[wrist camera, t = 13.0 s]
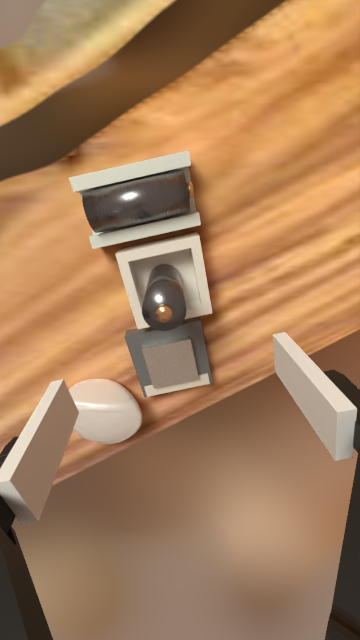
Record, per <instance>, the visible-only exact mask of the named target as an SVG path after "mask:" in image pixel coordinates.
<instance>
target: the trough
mask: <svg viewBox="0 0 360 640" xmlns="http://www.w3.org/2000/svg"><path fill="white" fill-rule="evenodd" d="M190 166H191V161H190V155H189V150H188V151H183V152H179V153H175V154H170V155H166V156H162V157H157V158H153V159H149V160H144V161H140V162H135V163H131V164H127V165H122V166H118V167H114V168H109V169H105V170H101V171H96V172H92V173H87V174H83V175H79V176H74V177H70V178H69V180H70V183H71V186H72V189H73V192H80V195H81V198H82V193H83V192H86V191H90V190H95V189H99V188H104V187H108V186H112V185H117V184H121V183H125V182H130V181H134V180H139V179H143V178H147V177H152V176H156V175H161V174H165V173H169V172H174V171H178V170H183V172H184V175H185V179H186V183H190V182H191V176H190V171H189V167H190ZM189 201H190V212H189V213H185V214H180V215H176V216H171V217H167V218H162V219H158V220H153V221H149V222H144V223H140V224H135V225H131V226H126V227H122V228H118V229H113V230H109V231H104V232H100V233H95V232H94V231H93V230H92V232H93V235H91V236H90V237H89V240H90V243H91V246H92V249H95V248H100V247H104V246H109V245H113V244H118V243H122V242H127V241H131V240H136V239H140V238H145V237H149V236H154V235H158V234H163V233H167V232H172V231H176V230H181V229H185V228H190V227H194V226H199V225H201V222H200V216H199V212H197V211H196V206H195V200H194V198H191V199H189ZM91 229H92V228H91Z"/></svg>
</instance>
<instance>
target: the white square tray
mask: <svg viewBox="0 0 360 640" xmlns="http://www.w3.org/2000/svg"><path fill="white" fill-rule="evenodd" d="M115 255H116V258H117V262H118V265H119V268H120V272H121V275H122V278H123V282H124V285H125V288H126V292H127V295H128V298H129V302H130V305H131V308H132V311H133V315H134V318H135V321H136V325H137V328H138V329H142V328H147V327H150V326H149V325H148V324H147V323H146V322H145V320H144V318H143V315H142V306H143V301H144V297H145V292H146V288H147V283H148V279H149V275H150V272H151V271H152V269H153V268H155V267H156V266H158V265H160V264H169V265H172V266H174V267H175V268H176V269H177V270H178V271H179V273H180V275H181V280H182V286H183V292H184V298H185V304H186V317H185V319H188V318H193V317H198V316H202V315H207V314H212V307H211V302H210V296H209V290H208V284H207V278H206V272H205V266H204V260H203V254H202V248H201V242H200V236H199V235H198V234H197V233H196V232H194V233H190V234H185V235H181V236H176V237H172V238H167V239H163V240H158V241H154V242H149V243H145V244H140V245H136V246H131V247H127V248H122V249H119V250H118V251H117V252H116V254H115Z"/></svg>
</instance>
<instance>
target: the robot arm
mask: <svg viewBox="0 0 360 640" xmlns="http://www.w3.org/2000/svg"><path fill="white" fill-rule="evenodd" d="M273 347H274V361H275V372H276V373H277V375H278V376H279V378H280V379H281V381H282V382H283V384H284V385H285V387H286V388H287V389H288V391H289V393H290V394H291V396H292V397H293V399H294V400H295V402H296V403H297V405H298V406H299V408H300V409H301V411H302V412H303V413H304V415H305V417H306V418H307V420H308V421H309V422H310V424H311V426H312V427H313V429H314V430H315V432H316V433H317V435H318V436H319V438H320V439H321V441H322V442H323V443H324V445H325V446H326V448H327V450H328V451H329V452H330V454H331V455H332V457H333V458H334V460H335V461H338V460H343V459H348V458H353V451H354V449H355V450H356V451H357V452H358V458H357V464H356V470H355V476H354V482H353V487H352V493H351V499H350V505H349V511H348V516H347V522H346V528H345V534H344V540H343V545H342V551H341V557H340V563H339V569H338V575H337V580H336V586H335V593H334V598H333V604H332V609H331V613H330V617H329V621H328V626H327V631H326V637H325V640H360V390H359V389H357V387H356V386H355V385H354V384H353V383H351V381H350V380H349V379H348V378H347V377H346V376H345V375H343V374H341V373H339V372H337V371H335V370H330V371H325V372H322V371H321V370H320V369H319V368H318V366H317V365H316V364H314V362H313V361H312V360H311V359H310V358H309V357H308V356H307V355H306V354H305V353H304V352H303V351H302V349H301V348H300V347H299V346H298V345H297V344H296V343H295V342H294V341H293V340H292V339H291V338H290V337H289V336H288V335H287V334H286V333H285V332H283V333H278V334H273ZM78 415H79V411H78V409H77V407H76V405H75V403H74V401H73V398H72V396H71V394H70V392H69V390H68V388H67V386H66V384H65V381H64V379H62V380H58V381H53V382H51V384H50V385H49V387H48V389H47V390H46V392H45V394H44V395H43V397H42V399H41V400H40V402H39V404H38V406H37V407H36V409H35V411H34V412H33V414H32V416H31V417H30V419H29V421H28V422H27V424H26V426H25V427H24V429H23V431H22V433H21V434H20V436H18V437H14V438H13V439H12V440H11V441H10V442H9V443H8V444H7V445H6V446H5V447H4V449H3V451H2V452H1V454H0V640H53V638H52V635H51V632H50V630H49V627H48V624H47V621H46V618H45V616H44V613H43V610H42V607H41V604H40V602H39V599H38V596H37V593H36V590H35V587H34V584H33V582H32V579H31V576H30V573H29V570H28V567H27V564H26V562H25V559H24V556H23V553H22V550H21V547H20V545H19V542H18V539H17V536H16V533H15V530H14V529H13V528H12V527H11V525H12V523H13V521H14V519H15V517H16V518H17V519H18V521H19V522H20V523H21V524H27V523H32V522H36V521H38V520H39V518H40V516H41V513H42V510H43V508H44V505H45V502H46V500H47V497H48V494H49V491H50V489H51V486H52V484H53V481H54V478H55V476H56V473H57V470H58V468H59V465H60V463H61V460H62V457H63V455H64V452H65V449H66V447H67V444H68V441H69V439H70V436H71V433H72V431H73V428H74V425H75V423H76V420H77V417H78Z"/></svg>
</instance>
